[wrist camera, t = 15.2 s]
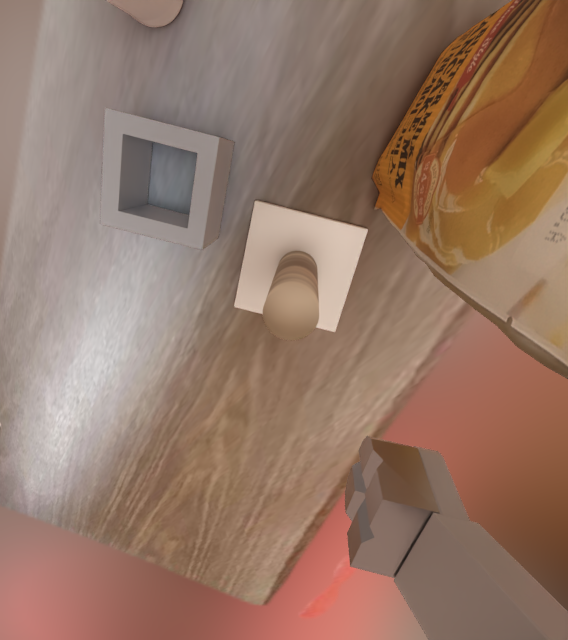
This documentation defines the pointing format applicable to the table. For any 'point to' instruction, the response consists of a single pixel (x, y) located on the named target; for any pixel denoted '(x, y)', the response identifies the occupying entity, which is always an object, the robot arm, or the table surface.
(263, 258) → the square mat
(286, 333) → the birch pin
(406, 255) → the table surface
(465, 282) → the pancake mix bag
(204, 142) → the grey square frame
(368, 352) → the table surface
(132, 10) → the drinking glass
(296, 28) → the table surface
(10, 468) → the table surface
